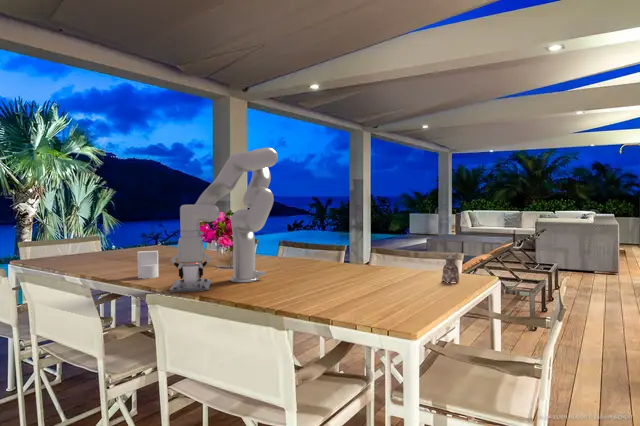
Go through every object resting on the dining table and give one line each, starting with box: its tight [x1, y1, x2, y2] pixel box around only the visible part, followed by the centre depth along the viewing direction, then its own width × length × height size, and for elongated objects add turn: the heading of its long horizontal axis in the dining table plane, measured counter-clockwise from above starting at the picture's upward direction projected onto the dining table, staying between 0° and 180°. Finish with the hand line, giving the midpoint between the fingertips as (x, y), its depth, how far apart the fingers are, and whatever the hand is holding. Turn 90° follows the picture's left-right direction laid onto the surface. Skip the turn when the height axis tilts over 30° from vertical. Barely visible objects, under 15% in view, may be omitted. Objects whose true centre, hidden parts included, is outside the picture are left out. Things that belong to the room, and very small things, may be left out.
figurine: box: [441, 253, 460, 283], centre depth 194 cm, size 7×7×12 cm
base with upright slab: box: [136, 250, 159, 280], centre depth 208 cm, size 9×9×12 cm
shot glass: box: [182, 263, 200, 283], centre depth 184 cm, size 7×7×7 cm
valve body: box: [168, 262, 212, 293], centre depth 186 cm, size 15×19×9 cm
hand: (191, 277), depth 184 cm, fingers closed on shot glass, 6 cm apart
